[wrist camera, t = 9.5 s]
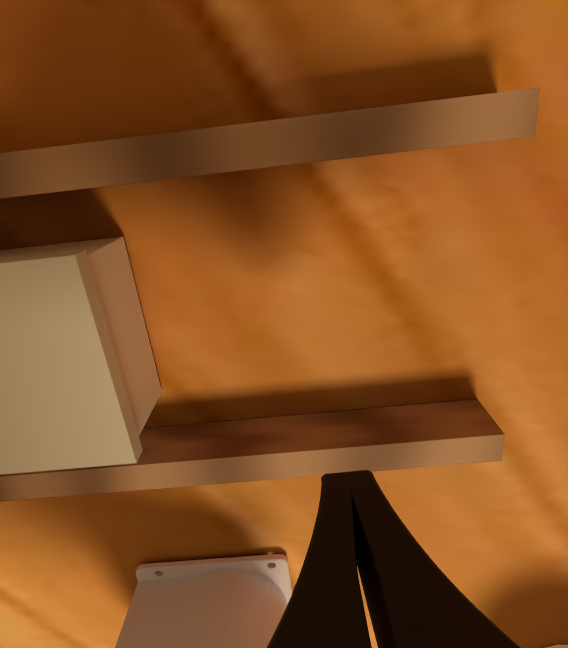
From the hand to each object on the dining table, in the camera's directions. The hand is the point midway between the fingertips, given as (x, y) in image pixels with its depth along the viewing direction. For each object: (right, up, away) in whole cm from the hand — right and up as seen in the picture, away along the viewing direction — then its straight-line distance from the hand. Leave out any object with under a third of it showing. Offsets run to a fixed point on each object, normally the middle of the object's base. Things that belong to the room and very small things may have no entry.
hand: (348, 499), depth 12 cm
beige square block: (-13, +5, +9) cm, 16 cm away
